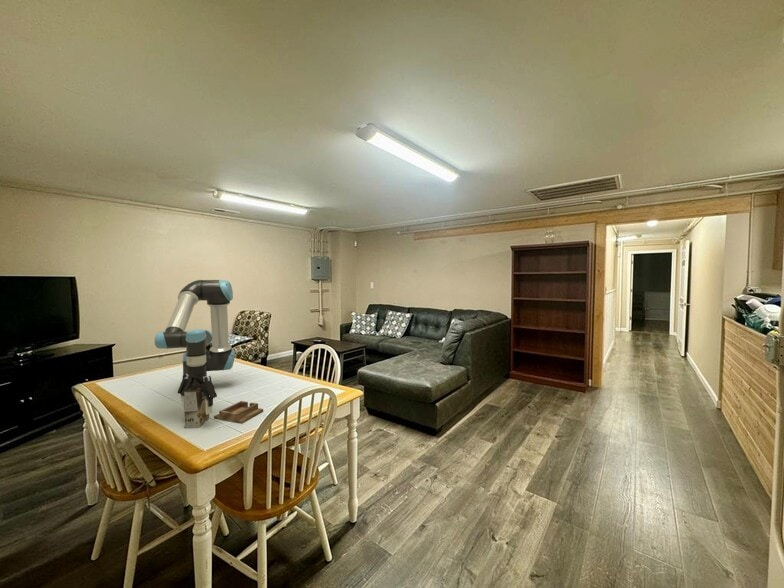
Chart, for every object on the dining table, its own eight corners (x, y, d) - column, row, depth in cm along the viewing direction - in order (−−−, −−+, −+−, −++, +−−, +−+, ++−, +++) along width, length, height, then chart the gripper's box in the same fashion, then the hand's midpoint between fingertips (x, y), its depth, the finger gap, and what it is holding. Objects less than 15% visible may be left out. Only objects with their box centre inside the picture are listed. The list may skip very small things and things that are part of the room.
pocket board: (213, 418, 146) (213, 410, 145) (237, 407, 159) (237, 400, 159) (241, 423, 141) (241, 415, 141) (263, 411, 154) (263, 404, 154)
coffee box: (199, 428, 136) (199, 391, 136) (184, 428, 136) (183, 392, 135) (210, 418, 146) (209, 384, 145) (195, 419, 145) (195, 384, 144)
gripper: (167, 364, 140) (168, 410, 141) (211, 369, 132) (211, 418, 133) (183, 360, 147) (184, 404, 148) (225, 364, 139) (226, 411, 140)
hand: (197, 411), depth 141 cm, fingers open, 13 cm apart
